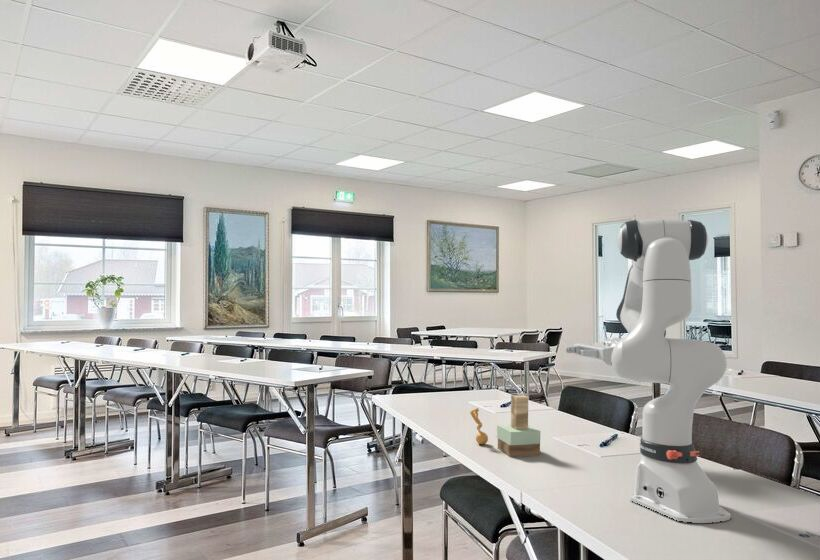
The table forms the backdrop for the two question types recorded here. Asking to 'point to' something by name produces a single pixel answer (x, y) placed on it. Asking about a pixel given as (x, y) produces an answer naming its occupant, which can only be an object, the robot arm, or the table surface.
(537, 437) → the pale green square slab
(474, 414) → the figurine
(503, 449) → the tower base
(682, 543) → the table surface
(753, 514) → the table surface
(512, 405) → the oak post
